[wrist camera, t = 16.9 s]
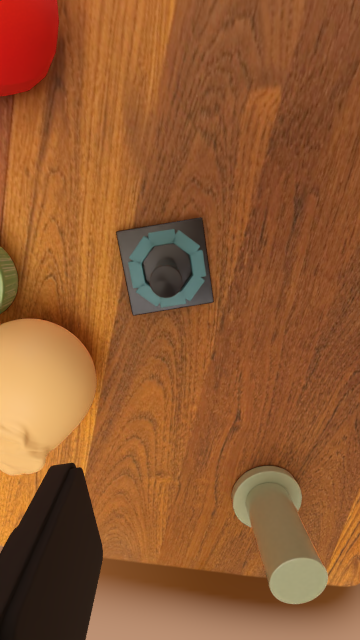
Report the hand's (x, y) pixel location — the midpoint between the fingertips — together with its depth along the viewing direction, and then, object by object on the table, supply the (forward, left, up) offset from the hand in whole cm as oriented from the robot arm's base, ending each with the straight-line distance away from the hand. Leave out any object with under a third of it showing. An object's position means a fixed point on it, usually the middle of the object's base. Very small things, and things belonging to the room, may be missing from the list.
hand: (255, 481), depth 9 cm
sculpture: (+16, +4, -24) cm, 29 cm away
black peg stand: (+2, -4, -24) cm, 25 cm away
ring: (+2, -4, -23) cm, 24 cm away
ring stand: (-5, +24, -24) cm, 34 cm away
